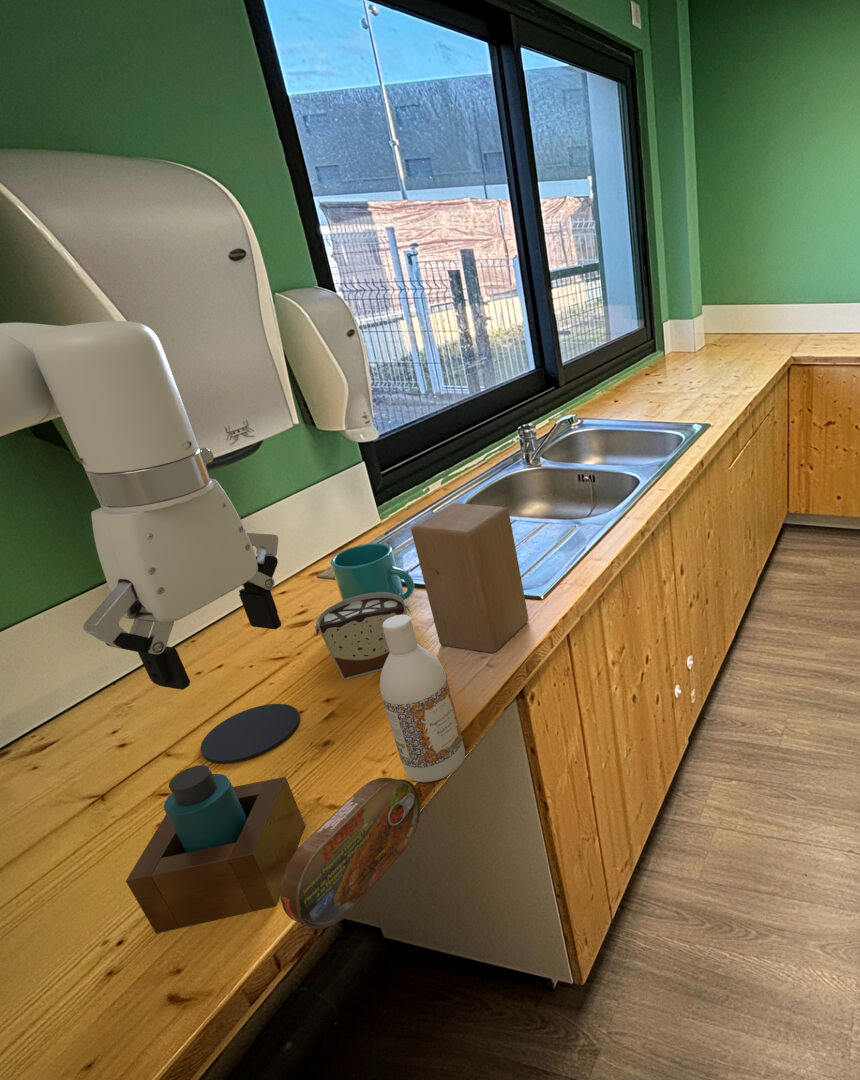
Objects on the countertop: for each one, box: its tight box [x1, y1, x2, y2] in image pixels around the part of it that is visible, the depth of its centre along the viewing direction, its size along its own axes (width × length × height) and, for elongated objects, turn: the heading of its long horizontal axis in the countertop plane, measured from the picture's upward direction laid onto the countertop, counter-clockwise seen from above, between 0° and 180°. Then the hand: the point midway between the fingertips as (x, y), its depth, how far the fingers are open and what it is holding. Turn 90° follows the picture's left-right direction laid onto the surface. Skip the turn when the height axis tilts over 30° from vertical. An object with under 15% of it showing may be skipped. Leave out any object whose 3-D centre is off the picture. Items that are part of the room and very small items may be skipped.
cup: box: [330, 542, 415, 603], centre depth 114 cm, size 9×12×11 cm
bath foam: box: [379, 614, 466, 783], centre depth 80 cm, size 7×7×20 cm
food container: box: [314, 592, 412, 681], centre depth 102 cm, size 12×6×10 cm, turn 115°
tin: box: [279, 777, 422, 930], centre depth 68 cm, size 15×3×8 cm, turn 161°
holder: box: [125, 776, 306, 934], centre depth 69 cm, size 10×10×7 cm
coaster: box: [200, 703, 301, 765], centre depth 90 cm, size 11×11×1 cm
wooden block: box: [410, 502, 529, 654], centre depth 106 cm, size 10×10×20 cm
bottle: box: [163, 764, 247, 853], centre depth 68 cm, size 5×5×13 cm
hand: (223, 654), depth 65 cm, fingers open, 9 cm apart
